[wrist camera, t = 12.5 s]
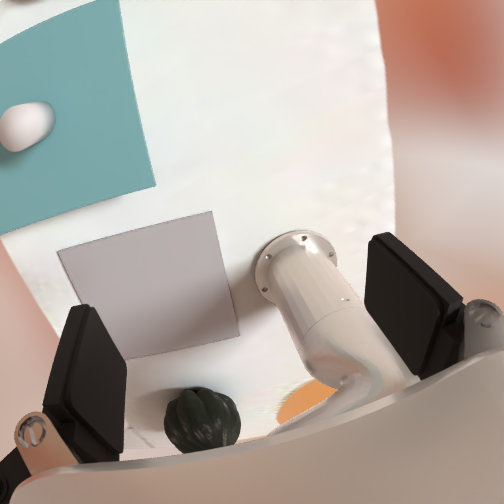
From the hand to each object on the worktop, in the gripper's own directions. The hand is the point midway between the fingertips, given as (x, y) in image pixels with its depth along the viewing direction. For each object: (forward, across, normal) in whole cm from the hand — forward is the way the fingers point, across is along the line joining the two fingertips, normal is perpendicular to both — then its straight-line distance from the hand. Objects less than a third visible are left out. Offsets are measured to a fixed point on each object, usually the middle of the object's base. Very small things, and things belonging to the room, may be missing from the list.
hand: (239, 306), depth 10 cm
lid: (+23, +15, -8) cm, 29 cm away
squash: (+31, +11, +47) cm, 57 cm away
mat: (+30, +11, +20) cm, 38 cm away
